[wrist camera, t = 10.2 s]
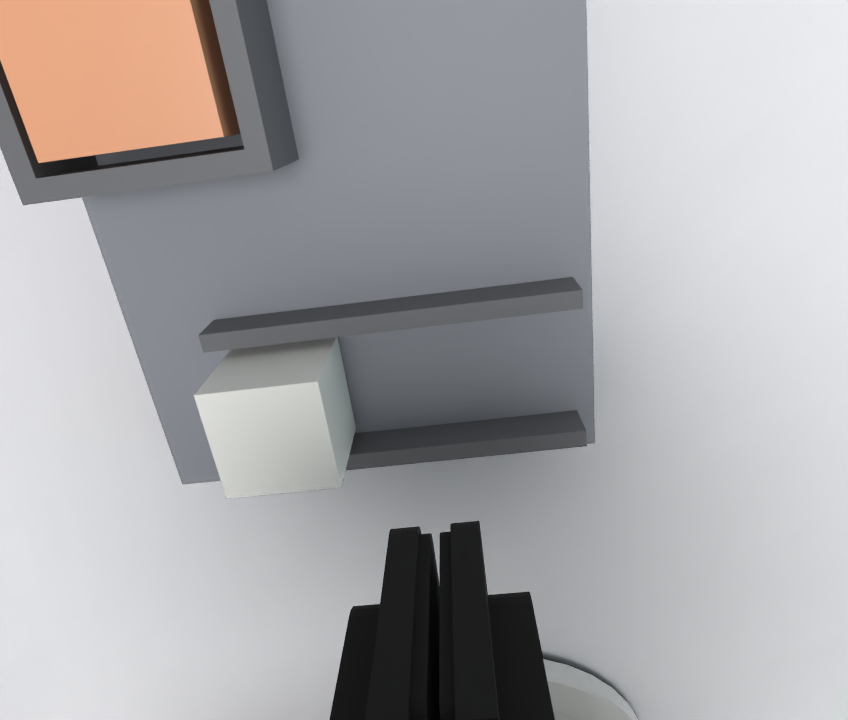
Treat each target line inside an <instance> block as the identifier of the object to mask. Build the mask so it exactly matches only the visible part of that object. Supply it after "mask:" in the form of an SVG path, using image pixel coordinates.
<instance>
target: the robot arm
mask: <svg viewBox="0 0 848 720" xmlns="http://www.w3.org/2000/svg"><path fill="white" fill-rule="evenodd" d="M450 529H451V532H442V533H440V586H439V579H438V572H437V566H436V559H435V552H434V546H433V539H432V535H431V534H421V530H420V527H409V528H398V529H391V530H390V533H389V540H388V548H387V555H386V563H385V571H384V579H383V587H382V594H381V602H380V604H376V605H364V606H353V608H352V609H351V612H350V616H349V620H348V626H347V631H346V636H345V641H344V647H343V652H342V657H341V663H340V668H339V673H338V678H337V684H336V689H335V694H334V700H333V705H332V710H331V715H330V720H638V718H637V716H636V715H635V713H634V711H633V710H632V708H631V707H630V705H629V703H628V702H627V701H626V700H624V699H623V698H622V697H621V696H620V695H619V694H618V693H617V692H616V691H615V690H614V689H613V688H612V687H610V686H609V685H607V684H606V683H604V682H602V681H601V680H599V679H598V678H596V677H595V676H593V675H591V674H589V673H586V672H584V671H581V670H579V669H576V668H574V667H572V666H569V665H566V664H562V663H558V662H554V661H550V660H546V659H543V656H542V651H541V645H540V640H539V635H538V630H537V625H536V620H535V615H534V609H533V604H532V599H531V595H530V592H520V593H508V594H496V595H488V593H487V584H486V575H485V567H484V558H483V549H482V540H481V532H480V523H479V521H474V522H463V523H452V524H451V526H450Z"/></svg>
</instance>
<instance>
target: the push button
mask: <svg viewBox="0 0 848 720" xmlns="http://www.w3.org/2000/svg"><path fill="white" fill-rule="evenodd" d="M0 61H1V63H2V66H3V69H4V71H5V74H6V77H7V79H8V82H9V85H10V88H11V90H12V93H13V96H14V98H15V101H16V104H17V106H18V109H19V112H20V115H21V117H22V120H23V123H24V125H25V128H26V131H27V134H28V136H29V139H30V142H31V144H32V147H33V150H34V152H35V155H36V158H37V161H38V163H42V162H49V161H56V160H63V159H70V158H78V157H85V156H92V155H99V154H106V153H113V152H120V151H127V150H134V149H141V148H148V147H155V146H163V145H170V144H177V143H184V142H191V141H198V140H205V139H212V138H219V137H226V136H231V135H236V134H241V133H240V129H239V124H238V120H237V116H236V112H235V107H234V103H233V99H232V95H231V91H230V86H229V82H228V78H227V74H226V69H225V65H224V61H223V57H222V53H221V48H220V44H219V40H218V36H217V31H216V27H215V23H214V19H213V15H212V10H211V6H210V2H209V0H0Z"/></svg>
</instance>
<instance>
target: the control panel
mask: <svg viewBox="0 0 848 720" xmlns="http://www.w3.org/2000/svg"><path fill="white" fill-rule="evenodd" d="M209 2H210V6H211V10H212V15H213V19H214V23H215V27H216V31H217V36H218V40H219V44H220V48H221V53H222V57H223V61H224V65H225V69H226V74H227V78H228V82H229V86H230V91H231V95H232V99H233V103H234V107H235V112H236V116H237V120H238V124H239V129H240V133H241V134H236V135H231V136H226V137H219V138H212V139H205V140H198V141H191V142H184V143H177V144H170V145H163V146H155V147H148V148H141V149H134V150H127V151H120V152H113V153H106V154H99V155H92V156H85V157H78V158H70V159H63V160H56V161H49V162H42V163H38V161H37V158H36V155H35V152H34V150H33V147H32V144H31V142H30V139H29V136H28V134H27V131H26V128H25V125H24V123H23V120H22V117H21V115H20V112H19V109H18V106H17V104H16V101H15V98H14V96H13V93H12V90H11V88H10V85H9V82H8V79H7V77H6V74H5V71H4V69H3V66H2V63H1V61H0V148H1V150H2V153H3V155H4V158H5V160H6V163H7V166H8V168H9V171H10V173H11V176H12V178H13V181H14V183H15V186H16V189H17V191H18V194H19V196H20V199H21V201H22V204H23V205H28V204H36V203H43V202H50V201H58V200H65V199H72V198H80V197H82V199H83V201H84V204H85V207H86V210H87V213H88V216H89V219H90V221H91V224H92V227H93V230H94V233H95V236H96V239H97V241H98V244H99V247H100V250H101V253H102V256H103V259H104V261H105V264H106V267H107V270H108V273H109V276H110V279H111V281H112V284H113V287H114V290H115V293H116V296H117V299H118V301H119V304H120V307H121V310H122V313H123V316H124V319H125V321H126V324H127V327H128V330H129V333H130V336H131V339H132V341H133V344H134V347H135V350H136V353H137V356H138V359H139V361H140V364H141V367H142V370H143V373H144V376H145V379H146V381H147V384H148V387H149V390H150V393H151V396H152V399H153V401H154V404H155V407H156V410H157V413H158V416H159V419H160V421H161V424H162V427H163V430H164V433H165V436H166V439H167V441H168V444H169V447H170V450H171V453H172V456H173V459H174V461H175V464H176V467H177V470H178V473H179V476H180V479H181V481H182V484H192V483H202V482H211V481H221V480H220V477H219V473H218V470H217V467H216V464H215V461H214V458H213V455H212V452H211V448H210V445H209V442H208V439H207V436H206V433H205V430H204V426H203V423H202V420H201V417H200V414H199V411H198V408H197V404H196V401H195V398H194V394H195V393H196V392H197V391H198V389H199V388H200V387H201V386H202V385H203V383H204V382H205V381H206V380H207V378H208V377H209V376H210V375H211V373H212V372H213V371H214V370H215V369H216V367H217V366H218V365H219V364H220V362H221V361H222V360H223V359H224V357H225V356H226V355H227V354H228V353H229V351H230V350H232V349H240V348H249V347H258V346H266V345H275V344H283V343H292V342H301V341H309V340H318V339H327V338H335V337H338V342H339V347H340V351H341V356H342V361H343V366H344V371H345V376H346V381H347V386H348V391H349V396H350V401H351V406H352V411H353V416H354V421H355V426H356V429H355V434H354V438H353V442H352V446H351V450H350V454H349V458H348V462H347V467H346V470H353V469H363V468H373V467H383V466H393V465H403V464H413V463H423V462H433V461H443V460H453V459H463V458H473V457H483V456H493V455H503V454H513V453H523V452H532V451H542V450H552V449H562V448H572V447H582V446H587V444H589V443H595V432H594V380H593V328H592V276H591V224H590V171H589V119H588V67H587V15H586V0H209Z"/></svg>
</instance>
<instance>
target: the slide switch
mask: <svg viewBox="0 0 848 720" xmlns="http://www.w3.org/2000/svg"><path fill="white" fill-rule="evenodd" d="M194 398H195V401H196V404H197V408H198V411H199V414H200V417H201V420H202V423H203V426H204V430H205V433H206V436H207V439H208V442H209V445H210V448H211V452H212V455H213V458H214V461H215V464H216V467H217V470H218V473H219V477H220V480H221V483H222V486H223V489H224V492H225V495H226V499H231V498H241V497H251V496H261V495H272V494H282V493H292V492H302V491H312V490H322V489H333V488H341V487H342V483H343V479H344V475H345V471H346V467H347V462H348V458H349V454H350V450H351V446H352V442H353V438H354V434H355V429H356V426H355V421H354V416H353V411H352V406H351V401H350V396H349V391H348V386H347V381H346V376H345V371H344V366H343V361H342V356H341V351H340V347H339V342H338V337H335V338H327V339H318V340H309V341H301V342H292V343H283V344H275V345H266V346H258V347H249V348H240V349H232V350H230V351H229V353H228V354H227V355H226V356H225V357H224V359H223V360H222V361H221V362H220V364H219V365H218V366H217V367H216V369H215V370H214V371H213V372H212V373H211V375H210V376H209V377H208V378H207V380H206V381H205V382H204V383H203V385H202V386H201V387H200V388H199V389H198V391H197V392H196V393H195V394H194Z"/></svg>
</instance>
